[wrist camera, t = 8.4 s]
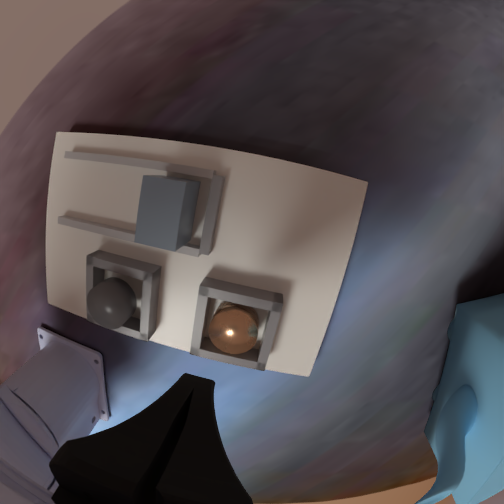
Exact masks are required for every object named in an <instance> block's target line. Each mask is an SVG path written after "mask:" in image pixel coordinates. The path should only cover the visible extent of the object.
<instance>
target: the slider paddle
mask: <svg viewBox="0 0 504 504" xmlns="http://www.w3.org/2000/svg"><path fill="white" fill-rule="evenodd" d="M200 183H201V182H200V181H194V180H189V179H183V178H177V177H171V176H165V175H143V179H142V185H141V192H140V199H139V206H138V213H137V221H136V230H135V239H134V242H135V243H140V244H144V245H148V246H152V247H156V248H161V249H165V250H169V251H174V252H175V251H177V250H178V249H179V248H181V247H182V246H183V245H185V244H186V243H187V242H189V241H190V240H191V234H192V228H193V222H194V216H195V210H196V205H197V199H198V194H199V188H200Z"/></svg>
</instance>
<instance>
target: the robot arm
mask: <svg viewBox="0 0 504 504" xmlns="http://www.w3.org/2000/svg"><path fill="white" fill-rule="evenodd" d="M37 331H38V338H39V343H40V349H41V350H40V351H39V352H38V353H37V354H36V355H34V356H33V357H32V358H31V359H30V360H28V361H27V362H26V363H25V364H24V365H23V366H21V367H20V368H19V369H18V370H17V371H16V372H15V373H13V374H12V375H11V376H10V377H9V378H8V379H7V380H6V381H4V382H3V383H2V384H1V385H0V504H253V502H252V499H251V497H250V496H249V495H248V493H247V492H246V490H245V489H244V487H243V486H242V484H241V482H240V481H239V479H238V477H237V476H236V474H235V472H234V470H233V468H232V466H231V464H230V462H229V459H228V457H227V455H226V452H225V450H224V447H223V444H222V441H221V438H220V434H219V430H218V426H217V421H216V416H215V409H214V386H215V382H214V381H213V380H210V379H206V378H202V377H198V376H194V375H191V374H187V373H185V374H183V375H182V376H181V377H180V378H179V380H178V381H177V382H176V383H175V384H174V385H173V386H172V387H171V388H170V389H169V390H168V391H166V392H165V393H164V394H163V395H162V396H161V397H160V398H159V399H157V400H156V401H155V402H153V403H152V404H151V405H149V406H148V407H147V408H145V409H144V410H143V411H141V412H140V413H138V414H136V415H135V416H133V417H131V418H130V419H128V420H126V421H124V422H122V423H120V424H118V425H116V426H114V427H111V428H109V429H106V430H104V431H101V432H98V433H95V434H92V435H89V434H90V432H91V431H92V429H93V428H94V426H95V425H96V423H97V422H98V421H99V419H102V420H104V421H108V420H109V412H108V405H107V398H106V390H105V381H104V370H103V358H102V355H101V354H100V353H99V352H98V351H95V350H93V349H90V348H88V347H85V346H83V345H81V344H78V343H76V342H74V341H71V340H69V339H67V338H65V337H62V336H60V335H58V334H56V333H54V332H52V331H49V330H47V329H45V328H43V327H39V328H38V329H37ZM88 435H89V436H88Z"/></svg>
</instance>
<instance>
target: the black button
mask: <svg viewBox="0 0 504 504" xmlns="http://www.w3.org/2000/svg"><path fill="white" fill-rule="evenodd" d="M87 307H88V310H89V312H90V314H91V316H92V318H93V319H94V320H95V321H96V322H97V323H98V324H99V325H101V326H102V327H104V328H107V329H118V328H120V327H121V326H122V325H123V324H124V323H125V322H126V321H127V320H128V319H129V318H130V317H131V316H132V315H133V314H134V312H135V310H136V307H137V300H136V296H135V293H134V291H133V289H132V288H131V287H130V285H129V284H128V283H127V282H125V281H124V280H122V279H120V278H117V277H110V278H107V279H105V280H104V281H102V282H101V283H99V284H97V285H96V286H94V287H93V288H92V289H91V290H90V291H89V293H88V295H87Z"/></svg>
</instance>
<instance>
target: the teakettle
mask: <svg viewBox="0 0 504 504" xmlns="http://www.w3.org/2000/svg"><path fill="white" fill-rule="evenodd" d="M447 334H448V338H449V340H450V343H449V348H448V352H447V357H446V361H445V365H444V369H443V373H442V376H441V380H440V384H439V385H438V386H437V387H436V389H435V390H434V392H433V395H432V398H433V400H434V404H433V407H432V410H431V413H430V416H429V418H428V421H427V424H426V427H425V430H424V433H425V435H426V437H427V439H428V441H429V443H430V445H431V447H432V449H433V452H434V454H435V456H436V458H437V460H438V474H437V477H436V481H435V483H434V484H433V486H432V488H431V489H430V490H429V491H428V493H426V494H425V495H424V496H423V497H422V498H421V499H420V500H419V501H417V502H416V503H415V504H434V503H436V502H438V501H440V500H442V499H444V498H446V497H447V496H449V495H450V494H451V493H452V495H453V497H454V500H455V502H456V504H478V503H480V502H482V501H484V500H486V499H487V498H489V497H491V496H493V495H495V494H496V493H498V492H500V491H501V490H503V489H504V293H502V294H498V295H494V296H490V297H486V298H482V299H478V300H473V301H469V302H464V303H460V304H457V305H456V311H455V317H454V319H453V320H452V322H451V323H450V325H449V328H448V333H447Z"/></svg>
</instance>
